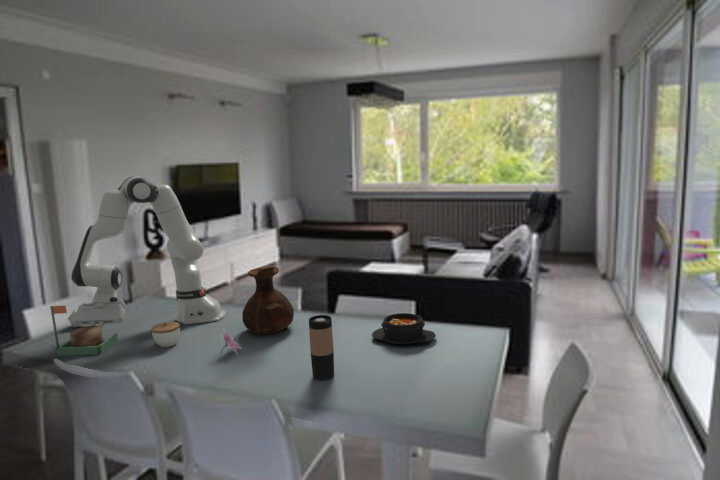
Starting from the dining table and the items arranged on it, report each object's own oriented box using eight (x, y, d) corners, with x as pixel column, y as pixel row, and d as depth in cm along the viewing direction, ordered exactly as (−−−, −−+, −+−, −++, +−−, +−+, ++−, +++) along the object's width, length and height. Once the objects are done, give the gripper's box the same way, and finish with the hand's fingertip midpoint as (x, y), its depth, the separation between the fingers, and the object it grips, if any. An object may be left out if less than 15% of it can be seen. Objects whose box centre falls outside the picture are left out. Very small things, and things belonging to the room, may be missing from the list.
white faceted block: (76, 331, 226) (88, 312, 228) (60, 322, 227) (73, 303, 228) (86, 332, 234) (98, 313, 236) (71, 322, 235) (82, 304, 237)
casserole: (439, 333, 202) (438, 313, 201) (431, 351, 185) (430, 329, 183) (379, 329, 210) (378, 309, 208) (366, 346, 192) (365, 325, 191)
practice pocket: (118, 340, 211) (111, 294, 207) (100, 354, 197) (93, 304, 193) (78, 341, 211) (71, 295, 208) (57, 355, 197) (49, 306, 193)
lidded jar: (187, 341, 206) (184, 319, 205) (167, 351, 197) (164, 328, 195) (167, 338, 211) (165, 316, 209) (147, 347, 201) (144, 325, 199)
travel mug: (312, 371, 172) (308, 315, 168) (334, 370, 172) (331, 314, 169) (312, 381, 164) (308, 323, 161) (335, 380, 165) (332, 321, 161)
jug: (232, 336, 209) (225, 266, 204) (261, 319, 229) (255, 255, 224) (277, 341, 201) (272, 268, 196) (303, 323, 221) (299, 256, 215)
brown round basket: (108, 342, 209) (106, 325, 208) (94, 353, 198) (92, 334, 197) (82, 343, 209) (79, 326, 208) (66, 354, 198) (64, 336, 197)
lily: (225, 363, 184) (236, 342, 184) (203, 349, 188) (214, 328, 188) (241, 360, 195) (251, 340, 195) (220, 347, 198) (230, 327, 198)
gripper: (76, 300, 214) (66, 330, 206) (123, 298, 214) (115, 328, 206) (83, 307, 219) (73, 336, 212) (129, 305, 219) (122, 334, 211)
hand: (94, 332), depth 209 cm, fingers closed, pressing on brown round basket
